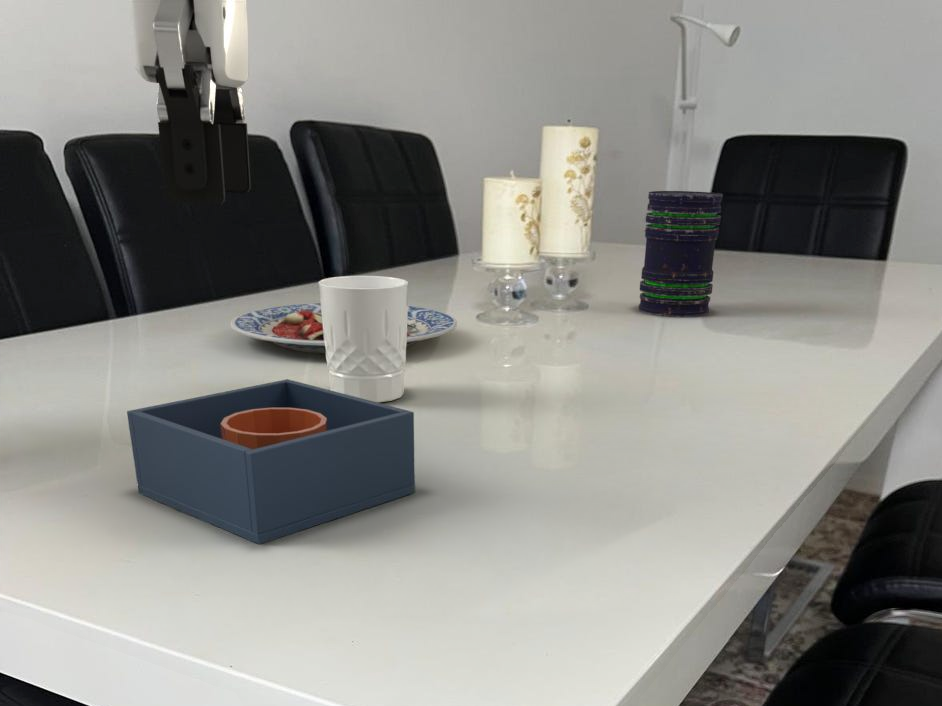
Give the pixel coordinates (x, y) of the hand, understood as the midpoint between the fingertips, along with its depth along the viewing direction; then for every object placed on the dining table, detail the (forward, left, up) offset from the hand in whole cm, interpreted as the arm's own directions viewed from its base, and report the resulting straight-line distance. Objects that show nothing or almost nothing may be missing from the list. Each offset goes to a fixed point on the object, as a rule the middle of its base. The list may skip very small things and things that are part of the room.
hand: (211, 197), depth 60 cm
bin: (+3, +1, -18) cm, 19 cm away
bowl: (+3, +1, -18) cm, 18 cm away
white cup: (-13, +24, -19) cm, 33 cm away
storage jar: (-19, +87, -19) cm, 91 cm away
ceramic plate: (-34, +40, -19) cm, 56 cm away
